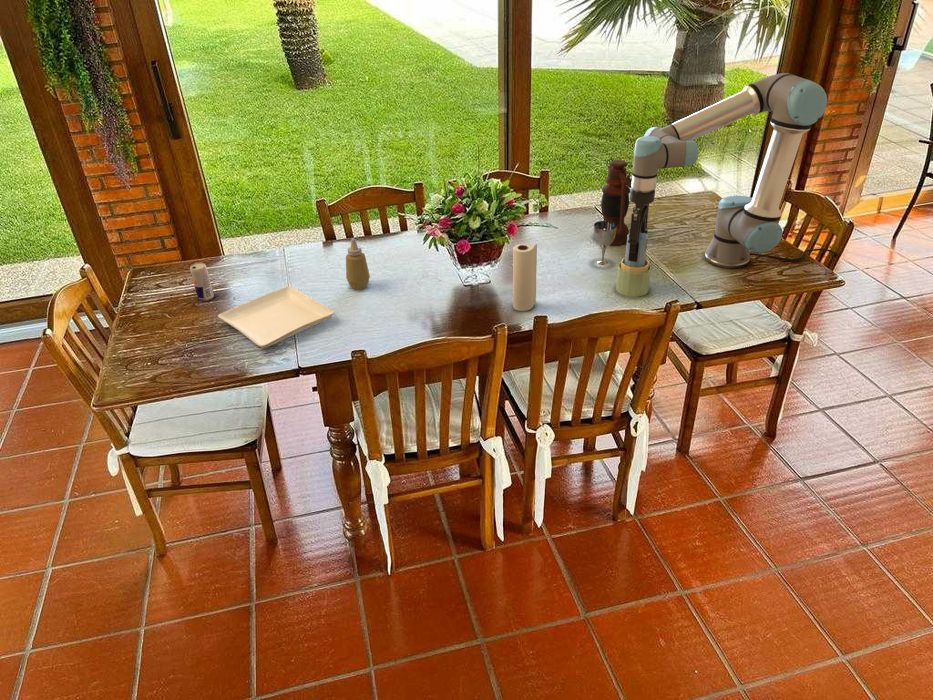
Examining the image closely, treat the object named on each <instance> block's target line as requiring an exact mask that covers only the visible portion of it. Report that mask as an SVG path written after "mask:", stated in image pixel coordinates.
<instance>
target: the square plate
mask: <svg viewBox="0 0 933 700" xmlns="http://www.w3.org/2000/svg"><path fill="white" fill-rule="evenodd" d="M333 315H335V311H334V310H332V309H331V308H329V307H327V306H326V305H324V304H322V303H321V302H319V301H317V300H315V299H314V298H311V297H310V296H308V295H306V294H305V293H303V292H301V291H300V290H299V289H296V288H294V287H292V286H290V285H288V286H285V287H282V288H279V289H277V290H274V291H272V292H268V293H266V294H264V295H261V296H259V297H256V298H253V299H252V300H249V301H247V302H244V303H241V304H239V305H237V306H235V307H232V308H230V309H227V310H226V311H223V312H221V313H219V314H217V317H218V318H219V319H220V320H222V321H223V322H225V323H226V324H227V325H229V326H230V327H232V328H234V329H235V330H236V331H238V332H239V333H241V334H242V335H243V336H245V337H246V338H247V339H249V340H250V341H251V342H252V343H253V344H255V345H256V346H258V347H259V348H261V349H266V348H270V347H271V346H273V345H275V344H278V343H280V342H282V341H284V340H286V339H288V338H290V337H292V336H295V335H296V334H300V333H301V332H303V331H305V330H308V329H309V328H311V327H315V326H316V325H319V324H321V323H324V322H325V321H326V320H329V319H330V318H332V316H333Z"/></svg>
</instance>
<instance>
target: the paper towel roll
mask: <svg viewBox="0 0 933 700" xmlns="http://www.w3.org/2000/svg"><path fill="white" fill-rule="evenodd" d="M537 262H538V244H537V243H536V244H535V245H534V246H532V245H531V244H529V243H528V244H527V243H518V244H515V245H514V246H513V247H512V307H513V308H512V309H514V310H515V311H518V312H527V311H530V310H531V309H532V308H533V307H534V305H535V304H536V303H537V266H538V265H537V264H538V263H537Z"/></svg>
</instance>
